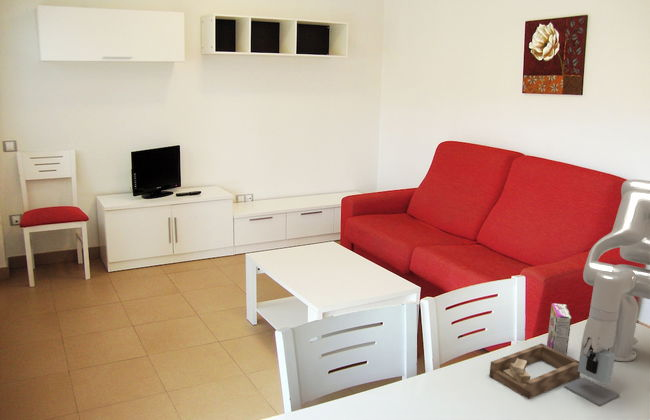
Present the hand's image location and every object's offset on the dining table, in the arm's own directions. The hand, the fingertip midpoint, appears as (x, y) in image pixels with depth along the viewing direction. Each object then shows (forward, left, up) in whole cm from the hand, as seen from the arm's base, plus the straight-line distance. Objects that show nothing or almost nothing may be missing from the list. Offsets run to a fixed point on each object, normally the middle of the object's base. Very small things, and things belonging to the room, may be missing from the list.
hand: (594, 369), depth 185 cm
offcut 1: (+15, -15, -3) cm, 22 cm away
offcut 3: (+15, -15, -8) cm, 23 cm away
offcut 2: (+15, -15, -6) cm, 22 cm away
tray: (+7, -15, -8) cm, 18 cm away
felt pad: (0, 0, -8) cm, 8 cm away
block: (0, 0, -2) cm, 2 cm away
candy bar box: (-11, -21, -8) cm, 25 cm away
